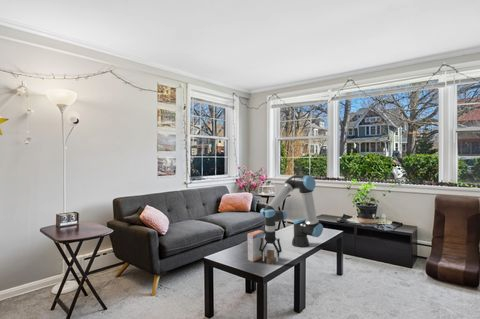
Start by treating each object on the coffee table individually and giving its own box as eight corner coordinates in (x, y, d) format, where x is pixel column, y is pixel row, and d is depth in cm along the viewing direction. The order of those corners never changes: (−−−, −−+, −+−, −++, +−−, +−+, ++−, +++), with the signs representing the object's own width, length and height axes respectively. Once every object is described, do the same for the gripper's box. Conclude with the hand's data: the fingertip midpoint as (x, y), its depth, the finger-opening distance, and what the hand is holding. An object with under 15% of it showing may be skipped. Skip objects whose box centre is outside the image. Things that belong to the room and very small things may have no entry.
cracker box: (258, 255, 234) (258, 229, 234) (264, 257, 230) (264, 230, 230) (247, 260, 224) (247, 233, 224) (253, 262, 220) (253, 234, 220)
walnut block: (274, 262, 220) (274, 250, 220) (273, 264, 215) (273, 252, 215) (267, 261, 221) (267, 249, 221) (266, 263, 217) (266, 251, 216)
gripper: (285, 230, 219) (285, 260, 219) (256, 228, 224) (256, 257, 225) (284, 232, 212) (284, 263, 212) (254, 231, 217) (254, 261, 217)
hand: (270, 260), depth 218 cm, fingers open, 9 cm apart
